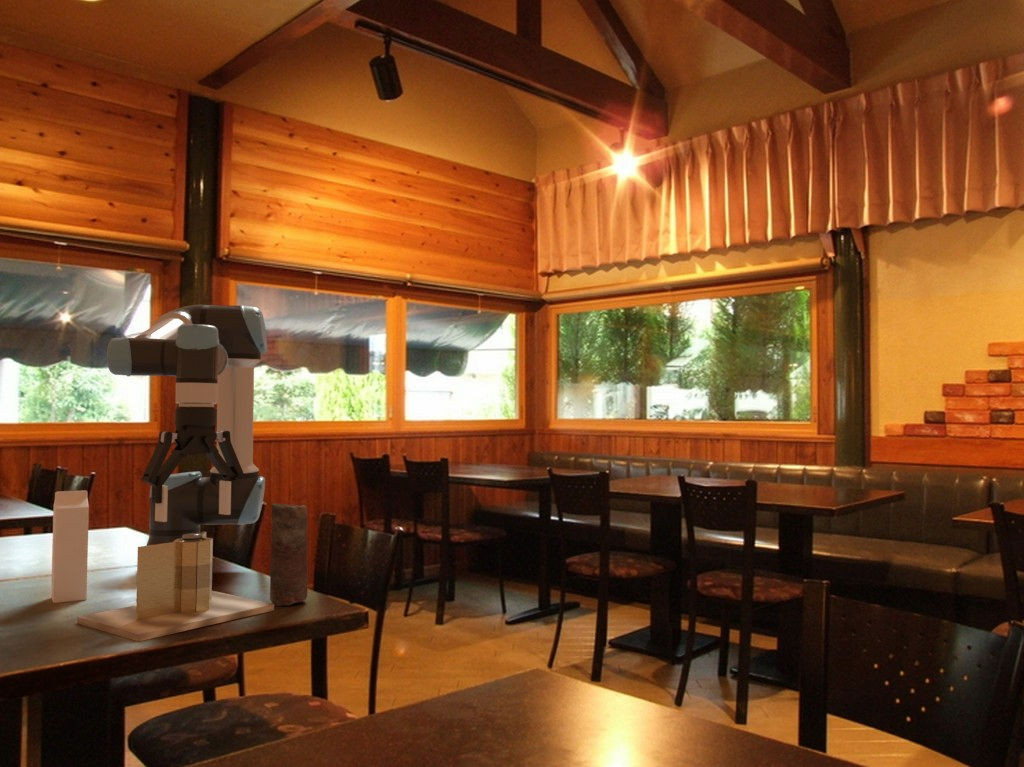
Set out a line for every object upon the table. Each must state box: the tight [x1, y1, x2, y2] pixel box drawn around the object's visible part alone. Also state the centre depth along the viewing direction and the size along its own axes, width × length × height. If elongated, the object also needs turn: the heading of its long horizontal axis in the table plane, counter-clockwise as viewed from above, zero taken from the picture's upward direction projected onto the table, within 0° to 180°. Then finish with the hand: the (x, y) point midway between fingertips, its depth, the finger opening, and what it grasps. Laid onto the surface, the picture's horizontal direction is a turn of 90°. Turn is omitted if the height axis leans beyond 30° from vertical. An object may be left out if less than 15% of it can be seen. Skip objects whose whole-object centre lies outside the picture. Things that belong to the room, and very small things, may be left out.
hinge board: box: [76, 590, 275, 642], centre depth 158 cm, size 28×20×1 cm
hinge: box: [136, 531, 214, 620], centre depth 159 cm, size 19×11×13 cm, turn 144°
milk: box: [50, 489, 90, 604], centre depth 172 cm, size 6×6×22 cm
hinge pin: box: [182, 532, 203, 542], centre depth 159 cm, size 4×4×14 cm
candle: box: [269, 503, 308, 607], centre depth 170 cm, size 8×7×20 cm
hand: (193, 517), depth 159 cm, fingers open, 13 cm apart
